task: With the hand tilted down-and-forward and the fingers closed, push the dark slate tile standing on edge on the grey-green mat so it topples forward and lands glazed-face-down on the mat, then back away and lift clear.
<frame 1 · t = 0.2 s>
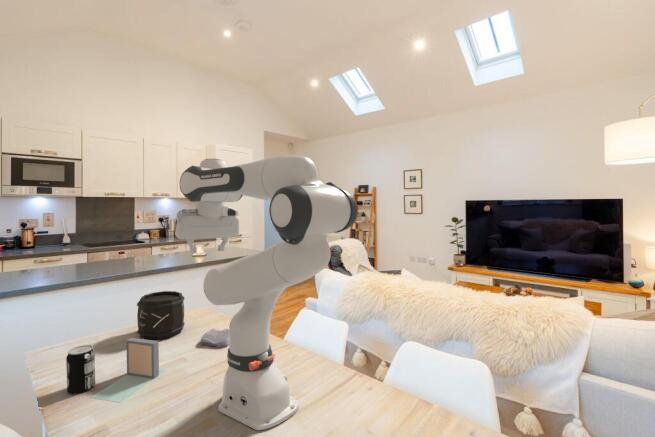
hand: (207, 251, 107), 39 cm above the table, tool pointing down, fingers open, 8 cm apart
mat: (131, 383, 99), on the table
slate tile: (142, 375, 104), resting on mat
beverage can: (81, 390, 96), on the table
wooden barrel: (160, 333, 138), on the table
stone block: (217, 343, 130), on the table
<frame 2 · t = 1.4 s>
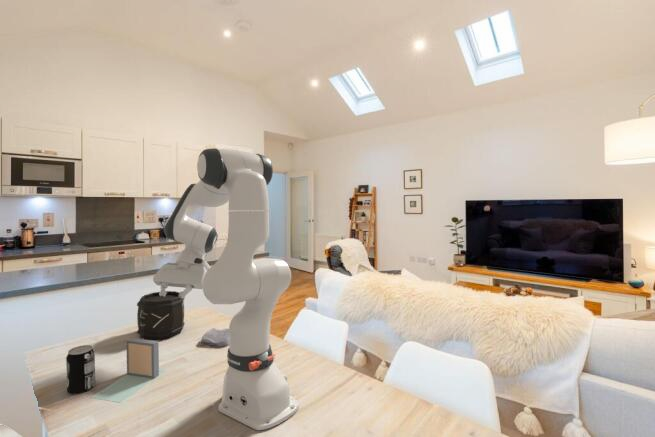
hand: (171, 296, 116), 22 cm above the table, tool tilted 45°, fingers open, 6 cm apart
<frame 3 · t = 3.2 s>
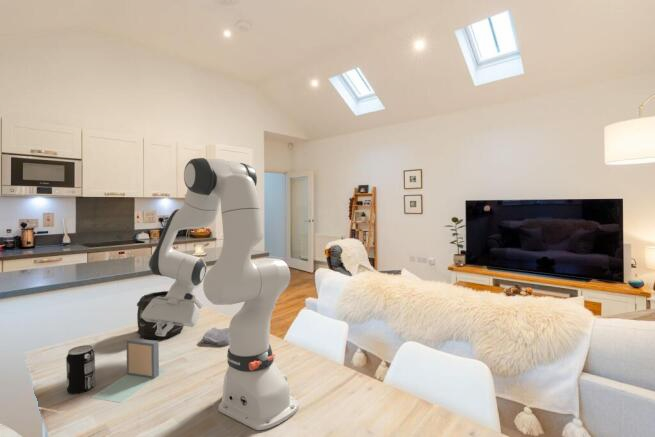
hand: (159, 335, 111), 10 cm above the table, tool tilted 45°, fingers closed
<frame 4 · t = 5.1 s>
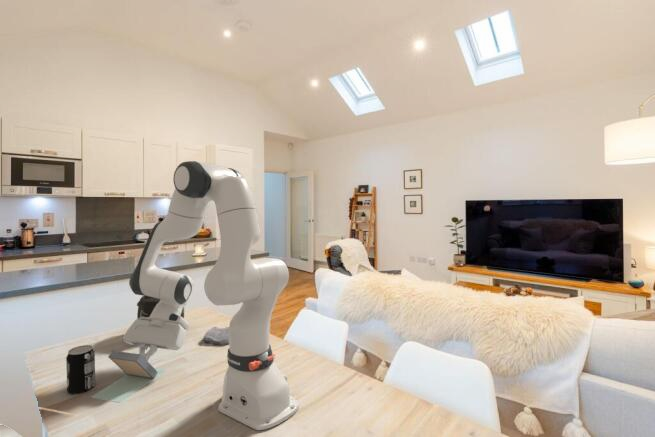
hand: (142, 360, 103), 5 cm above the table, tool tilted 45°, fingers closed
slate tile: (142, 373, 103), point 1 cm above the table, tilted 37°, touching mat
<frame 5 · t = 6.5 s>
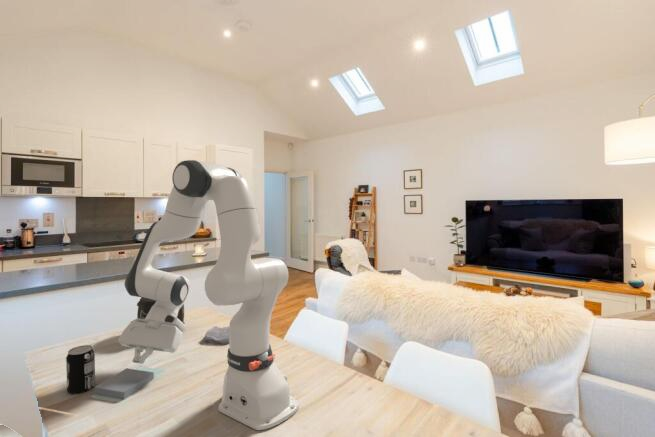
hand: (137, 362, 101), 5 cm above the table, tool tilted 45°, fingers closed
slate tile: (140, 373, 102), point 1 cm above the table, tilted 90°, touching mat
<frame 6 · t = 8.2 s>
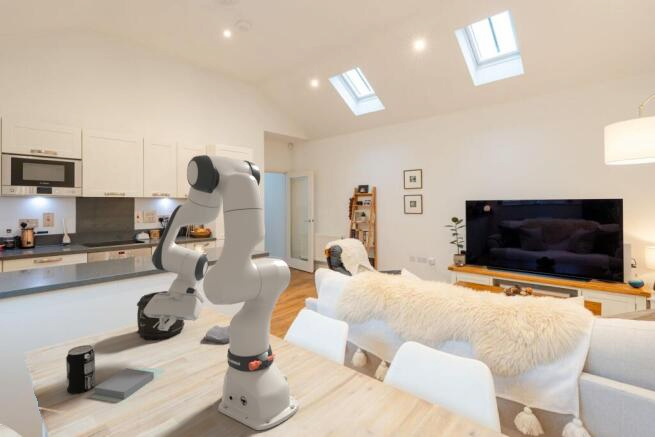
hand: (162, 329, 111), 12 cm above the table, tool tilted 45°, fingers closed
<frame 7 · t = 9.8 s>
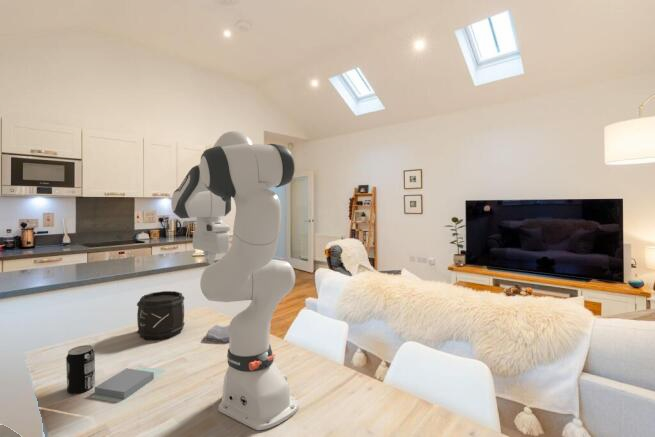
hand: (209, 263, 119), 33 cm above the table, tool pointing down, fingers closed
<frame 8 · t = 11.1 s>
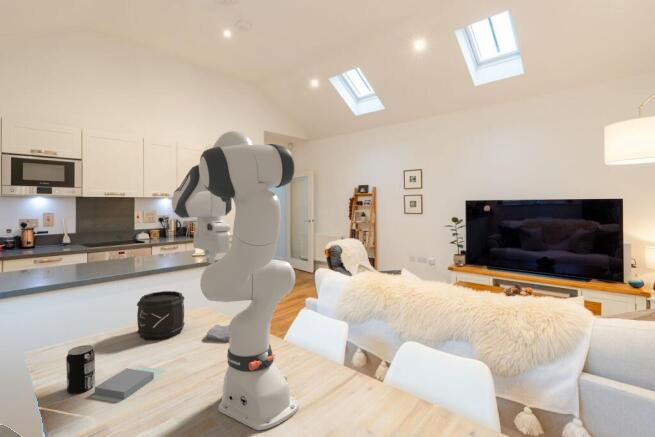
hand: (210, 262, 119), 33 cm above the table, tool pointing down, fingers closed
at the end: slate tile tilted 90°; slate tile inside the target area on the mat (3.4 cm from its centre), point 1.5 cm above the mat's base; the gripper is holding nothing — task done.
